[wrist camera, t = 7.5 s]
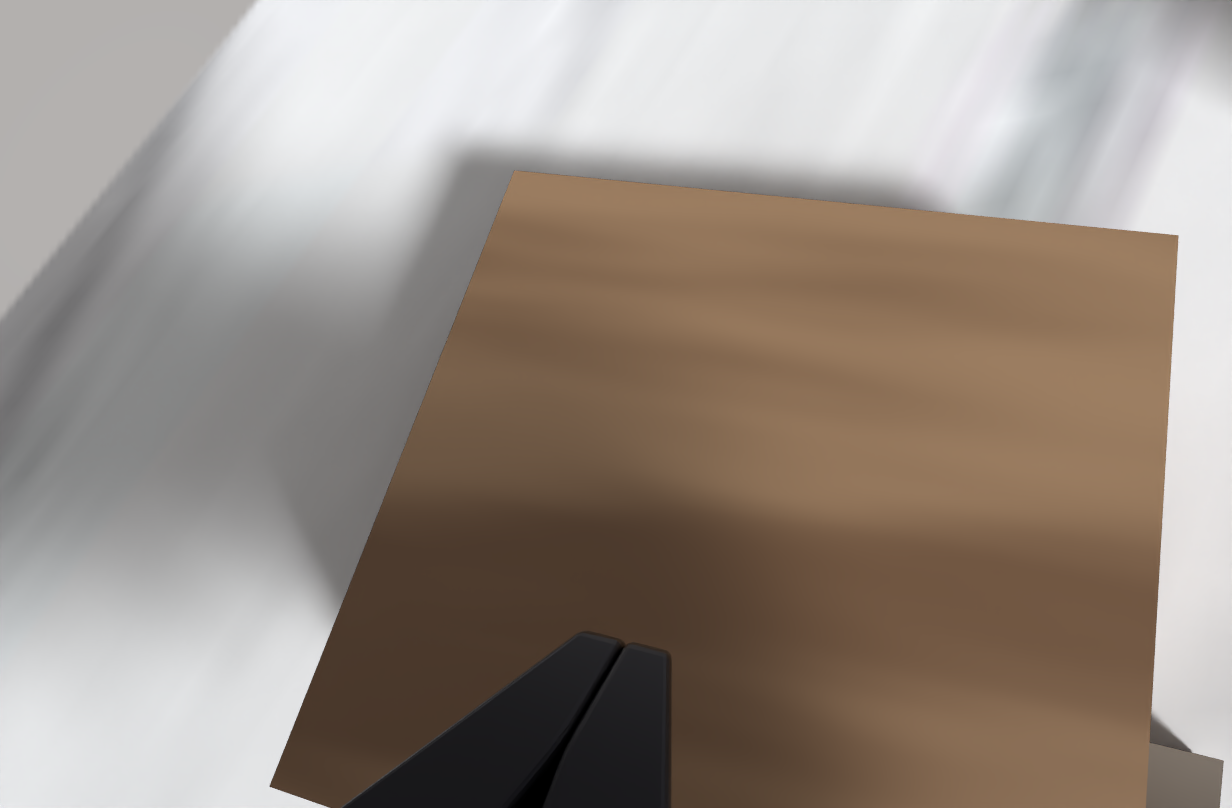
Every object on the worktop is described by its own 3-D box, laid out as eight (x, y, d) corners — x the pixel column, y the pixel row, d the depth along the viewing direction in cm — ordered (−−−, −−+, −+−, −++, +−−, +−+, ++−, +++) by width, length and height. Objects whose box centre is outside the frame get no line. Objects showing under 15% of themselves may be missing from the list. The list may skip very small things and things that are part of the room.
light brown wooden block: (1129, 1087, 9) (1178, 235, 13) (269, 786, 12) (514, 170, 16) (1044, 1021, 12) (1102, 371, 16) (397, 802, 15) (572, 297, 19)
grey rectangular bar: (1186, 855, 14) (1214, 871, 13) (388, 638, 18) (357, 636, 17) (1196, 753, 14) (1223, 760, 13) (409, 563, 19) (380, 556, 17)
